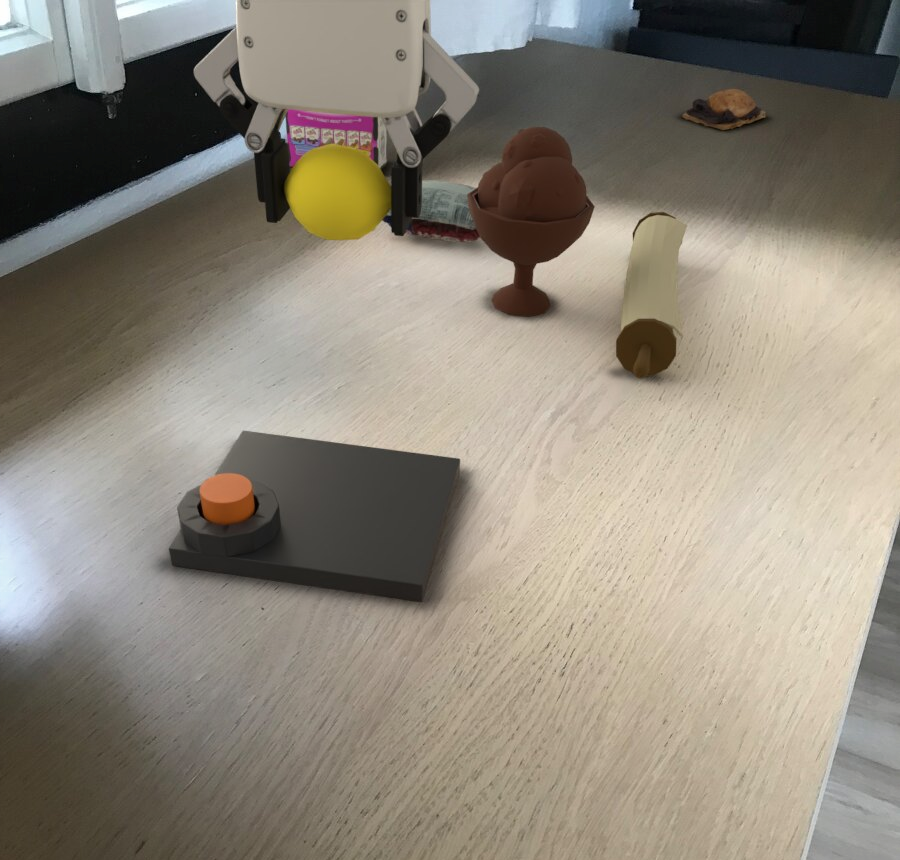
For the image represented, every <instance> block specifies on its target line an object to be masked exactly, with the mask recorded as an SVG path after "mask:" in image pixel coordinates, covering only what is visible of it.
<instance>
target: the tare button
mask: <svg viewBox="0 0 900 860" xmlns="http://www.w3.org/2000/svg"><path fill="white" fill-rule="evenodd" d="M214 475H215V474H214ZM214 475H212V476H210V477H208V478H206V479H205V480H204V481H203V482H201V484H200V485H201V486H200V497H201V504H202V510H203V515H204V517H205V518H206V519H207V520H208V521H209V522H211V523H216V524H223V525H228V524H234V523H239V522H243V521H245V520H247V519H248V518H250V517H251V516H252V515H253V513H254V510H255V505H254V497H253V488H252V484H251V482H250V480H249V479H247V478H246V477H244V476H242V475H239V474H233V473H224V474H218V475H215V476H214Z"/></svg>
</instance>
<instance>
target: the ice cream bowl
mask: <svg viewBox="0 0 900 860" xmlns="http://www.w3.org/2000/svg"><path fill="white" fill-rule="evenodd" d="M571 150H572V149H571V147H570V145H569V143H568V142H567V141H566V139H565V137H563V136H562V135H561V134H560V133H559V132H558V131H556V130H554V129H551V128H549V127H547V126H531V127H527V128H522V129H519V130H518V131H517V133H516V134H514V135H512V137H511V138H510V140H509V141H507V143H506V144H505V146H504V148H503V149H502V153H501V159H500V162H498V163H497V164H495V165H493V166H492V167H490V168H489V169H488V170H486V171H485V172H484V173H483V174H482V176H481V179H480V180H479V182H478V183H477V187H475V188H476V189H474V190H473V191H472V192H470V193H469V194H467V197H468V204H469V211H470V214H471V217H472V219H473V222H474V225H475V227H476V229H477V231H478V233H479V236H480V238H479V239H481V241H483V243H484V244H485V245H486V246H487V248H488V249H489V250H490V251H492V252H493V253H494V254H496V255H497V256H499V257H500V258H502V259H505V260H507V261H509V262H511V263H513V266H514V272H513V273H514V274H513V283H511V284H508V285H506V286H503V287H500V288H499V289H498V290H497V291H496V292H494V293H493V296H492V298H491V302H492V305H493V307H494V309H496V310H498V311H500V312H502V313H505V314H506V315H509V316H518V317H519V316H520V317H532V316H537V315H543V314H545V313H546V312H547V311H548V310H549V309H550V308H551V307H552V304H551V299H550V298H549V297H548V294H547V293H546V292H545V291H543V290H542V289H540V288H539V287H537V286H535V285H534V284H533V283H534V271H535V268H536V266H537V264H543V263H547V262H550V261H552V260H554V259H557V258H558V257H559V256H560V255H562V254H563V253H564V252H566V251H567V250H568V249H569V248H570V247H571V246H572V245H573V244H575V243H576V242H577V241H578V240H579V239H580V238H581V237H582V236H583V234H584V232H585V231H586V230H587V228H588V226H589V224H590V223H591V219H592V216H593V213H594V210H595V207H596V206H595V205H594V203H593V202H592V201H591V199H590V198H589V196H588V195H587V186H586V185H587V184H586V182H585V180H584V178H583V177H582V175H581V174H580V172H579V171H578V170H577V168H576V167H575V166H574V165H573V156H572V151H571Z"/></svg>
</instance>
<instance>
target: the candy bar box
mask: <svg viewBox="0 0 900 860" xmlns="http://www.w3.org/2000/svg"><path fill="white" fill-rule="evenodd" d="M284 119H285V131H286V132H285V133H286V143H287V144H288V148H289V163H290V168H292V167H293V166H294V165H295V163H296V162H297V161H298V160H299V159H300V158H301V157H302V156H303V155H304V154H306V153H307V152H308V151H310V150H311V149H314V148H317V147H321V146H325V145H328V144H336V145H341V146H345V147H349V148H353V149H356V150H359V151H362V152H364V153H365V154H366V155H367V156H368V157H369V158H371V159H372V160H373V161H374V162H375V163H376V164H378V166H379V168H380V169H381V170H382V169H384V167H385V166H386V164H387V162H388V143H387V141H388V140H387V129H386V127H385V125H384V123H383V121H382V119H381V117H367V116H356V115H345V114H333V113H322V112H312V111H302V110H292V109H288V111H287V113H286V116H285V118H284Z"/></svg>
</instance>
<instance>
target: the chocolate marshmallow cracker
mask: <svg viewBox="0 0 900 860" xmlns="http://www.w3.org/2000/svg"><path fill="white" fill-rule="evenodd" d="M681 117H682V118H683V119H684V120H688V121H691V122H693V123H695V124H701V125H704V126H705V127H711V128H714V129H718V130H721V131H725V130H729V129H730V130H733V129H734V128H737V127H742V126H743V125H745V124H748V125H749V124H751V123H754V122H755V121H759V120H761V119H763V118H764V119H765V118H766V111H764V110H762V107H759V106H757V105H756V103H755V101H754V99H753V98H752V97H751V96H750V95H749V94H748V93H747V92H745V91H743V90H740V89H738V88H729V89H724V90H719V91H717V92H714V93H713V94H710V95H709V96H707V99H706V100H705V99H702V98H696V99H695V100H693V102H692V107H691V108H690V109H687V110H686V111H685V112H684V113H683V114H682V116H681Z"/></svg>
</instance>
